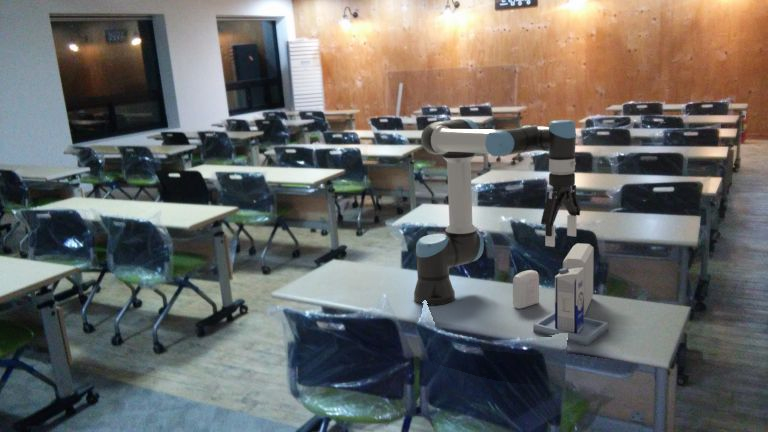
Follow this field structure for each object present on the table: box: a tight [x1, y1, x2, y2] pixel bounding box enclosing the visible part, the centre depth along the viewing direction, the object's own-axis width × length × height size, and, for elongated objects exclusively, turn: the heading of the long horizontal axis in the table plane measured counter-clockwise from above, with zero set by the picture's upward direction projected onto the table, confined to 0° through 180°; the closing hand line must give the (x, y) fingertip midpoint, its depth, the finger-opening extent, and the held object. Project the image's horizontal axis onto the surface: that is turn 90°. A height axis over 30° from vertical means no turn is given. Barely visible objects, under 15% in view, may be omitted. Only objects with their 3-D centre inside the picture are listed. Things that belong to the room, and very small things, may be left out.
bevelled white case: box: [562, 243, 595, 316], centre depth 212 cm, size 21×8×20 cm, turn 154°
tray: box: [532, 310, 609, 347], centre depth 194 cm, size 18×14×2 cm
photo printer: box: [512, 269, 540, 309], centre depth 217 cm, size 10×4×12 cm, turn 123°
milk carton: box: [554, 267, 585, 334], centre depth 191 cm, size 7×7×20 cm
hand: (561, 240), depth 191 cm, fingers open, 13 cm apart
